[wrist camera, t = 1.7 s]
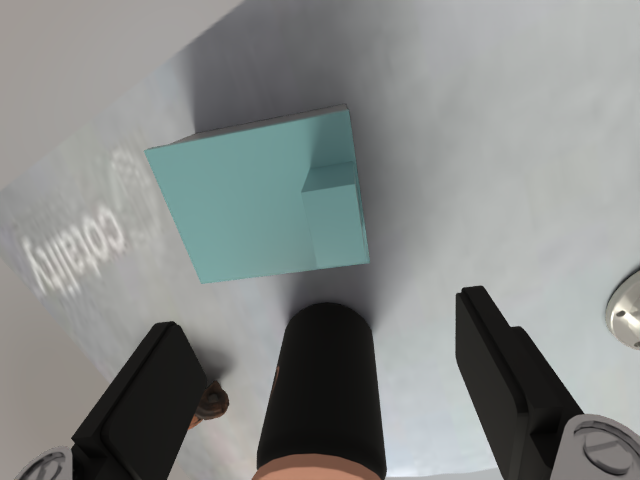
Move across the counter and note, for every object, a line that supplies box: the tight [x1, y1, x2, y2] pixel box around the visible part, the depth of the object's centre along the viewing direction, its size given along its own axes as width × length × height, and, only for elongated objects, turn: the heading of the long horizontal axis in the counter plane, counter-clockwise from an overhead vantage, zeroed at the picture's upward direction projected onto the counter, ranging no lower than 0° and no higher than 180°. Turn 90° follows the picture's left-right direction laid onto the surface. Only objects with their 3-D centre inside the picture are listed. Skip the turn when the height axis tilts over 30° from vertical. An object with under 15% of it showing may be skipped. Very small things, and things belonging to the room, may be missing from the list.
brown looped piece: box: [188, 381, 229, 430], centre depth 43 cm, size 12×10×8 cm
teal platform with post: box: [144, 109, 370, 284], centre depth 23 cm, size 14×11×8 cm
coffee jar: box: [252, 303, 387, 480], centre depth 32 cm, size 11×11×18 cm
